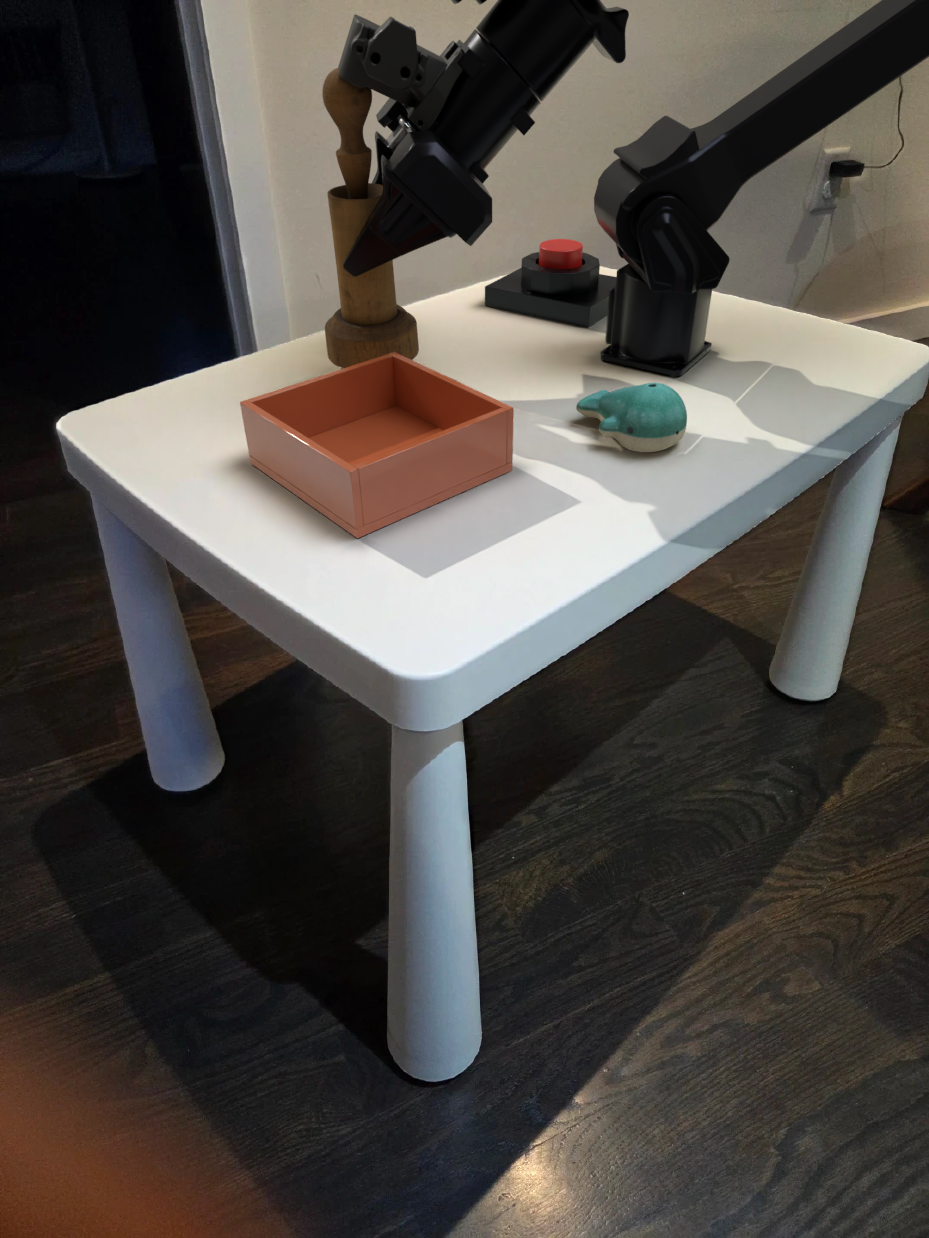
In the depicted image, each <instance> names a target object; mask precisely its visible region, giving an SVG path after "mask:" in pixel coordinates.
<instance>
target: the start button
mask: <svg viewBox="0 0 929 1238" xmlns="http://www.w3.org/2000/svg"><path fill="white" fill-rule="evenodd" d="M583 250H584V245H583V243H582V242H580V241H577V240H574V239H570V238H569V239H568V238H554V239H548V240H544V241H542V242H540V244H539V249H538V252H539V266H541V267H545V268H551V269H572V268H577V267H580V266H582V253H584V251H583Z"/></svg>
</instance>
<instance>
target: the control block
mask: <svg viewBox="0 0 929 1238" xmlns="http://www.w3.org/2000/svg"><path fill="white" fill-rule="evenodd" d="M520 265H521V267H519V268H517V269H516V270H514V271H512V272H510V273H508V274H506V275H504V276H502V277H501V278H499V279H496V280H494V281H493V282H491V283H489V284H487V285H485V286H484V307H487V308H492V309H497V310H503V311H507V312H510V313H516V314H521V315H526V316H530V317H535V318H539V319H544V320H549V321H554V322H559V323H565V324H568V325H572V326H576V327H577V326H578V327H583V328H587V329H589V328H591V327H592V326H594V325H596V324H597V323H598V322H600V321H601V320H603V319H604V318H607V312H608V300H609V291H610V290H611V289H612V288H613V287H615V286H616V276H613V275H607V274H603V273H600V271H601V269H600V268H601V267H600V266H601V263H600V259H599V258H598V257H595V256H594V255H591V254H589V253H587V252H583V253H582V266H580V267H577V268H572V269H551V268H545V267H541V266H539V251H537V252H531V253H529V254H528V255H525V256H523V257H522V258H521V264H520Z"/></svg>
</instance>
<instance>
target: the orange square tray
mask: <svg viewBox="0 0 929 1238" xmlns="http://www.w3.org/2000/svg"><path fill="white" fill-rule="evenodd" d="M239 407H240V411H241V417H242V422H243V427H244V435H245V440H246V445H247V451H248V456H249V463H250V465H252V466H254V467H255V468H256V469H258V470H260V471H261V472H262V473H264V474H265V475H267V477H269V478H271V479H272V480H274V481H275V482H276V483H278V484H279V485H281V486H282V487H283V488H285V489H286V490H288V492H290V493H292V494H294V495H295V496H296V497H298V498H300V499H301V500H302V501H303V502H304V503H306V504H308V505H309V506H310V507H312V508H313V509H314V510H316V511H317V512H319V513H320V514H321V515H323V516H324V517H326V518H328V519H329V520H330V521H331V522H333V523H334V524H336V525H337V526H339V527H340V528H342V529H343V530H344V531H346V532H347V533H349V534H350V535H352V536H353V537H354V538H356V539H359V538H362V537H364V536H366V535H368V534H371V533H373V532H375V531H378V530H380V529H382V528H384V527H387V526H389V525H391V524H393V523H395V522H396V523H397V522H398V521H400V520H402V519H405V518H407V517H410V516H412V515H415V514H416V513H418V512H421V511H423V510H425V509H428V508H430V507H432V506H435V505H436V504H439V503H442V502H443V501H447V500H448V499H450V498H452V497H455V496H458V495H459V494H461V493H463V492H466V491H468V490H471V489H473V488H475V487H478V486H480V485H482V484H484V483H487V482H488V481H491V480H493V479H496V478H498V477H500V476H503V475H504V474H507V473H509V472H511V471H513V464H514V463H513V457H514V414H515V413H514V410H515V409H514V407H513V406H511V405H509V404H506V403H505V402H503V401H501V400H498V399H497V398H494V397H492V396H489V395H487V394H486V393H483V392H481V391H478V390H477V389H476V388H475V389H474V388H472V387H470V386H468V385H466V384H464V383H461V382H460V381H457V380H455V379H453V378H451V377H449V376H447V375H445V374H443V373H440V372H438V371H436V370H434V369H432V368H430V367H428V366H426V365H424V364H422V363H419V362H417V361H415V360H414V359H413V360H411V359H409V358H406V357H404V356H402V355H400V354H398V353H396V352H393V353H390V354H387V355H384V356H381V357H378V358H374V359H371V360H368V361H365V362H362V363H359V364H356V365H353V366H350V367H347V368H341V369H338V370H334V371H331V372H329V373H325V374H322V375H319V376H316V377H313V378H310V379H306V380H304V381H301V382H298V383H297V382H296V383H293V384H291V385H288V386H285V387H281V388H279V389H275V390H272V391H270V392H266V393H263V394H259V395H257V396H253V397H251V398H248V399H244V400H242V401H239Z"/></svg>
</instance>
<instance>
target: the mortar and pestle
mask: <svg viewBox="0 0 929 1238" xmlns="http://www.w3.org/2000/svg"><path fill="white" fill-rule="evenodd" d="M338 74H339V68H338V67H337V68H334V69H332V70H331V71H330V72H328V74H327V75H326V77H325V79H324V82H323V84H322V93H321V94H322V95H321V96H322V102H323V105H324V108H325V109H326V111H327V113H328V115H329V116H330V118H331V120H332V121H333V123H334V124H335V126H336V127H337V129H338V132H339V135H340V146H339V148H338V149H336V151H335V157H336V161H337V164H338V167H339V170H340V172H341V176H342V179H343V181H344V184H343V185H338V186H335V187H332V188H330V189H329V190H328V191H327V192H326V193H327V203H328V209H329V216H330V226H331V233H332V241H333V249H334V259H335V266H336V267H335V268H336V274H337V275H336V276H337V285H338V294H339V302H340V303H339V304H340V308H339V309H337V310H336V311H335V312H334V314H333V315H332V316H331V317H330V318H328V320H327V321H326V322H325V324H324V337H325V344H326V345H325V346H326V353H327V358H328V359H329V361H330V362H331V363H332V364H333V365H335V366H337V367H339V368H341V369H343V368H347V367H350V366H353V365H356V364H359V363H362V362H365V361H368V360H371V359H374V358H378V357H381V356H384V355H387V354H390V353H393V352H396V353H398V354H400V355H402V356H404V357H406V358H409V359H411V360H413V361H414V359H415V358H416V357H418V355H419V352H420V346H419V345H420V344H419V333H418V324H417V320H416V318H415V317H414V315H413V314H411V313H410V312H408V311H407V310H406V309H405V308H404V307H403V306H401V305H399V304H397V295H396V294H397V293H396V283H395V282H396V281H395V272H394V260H391V261H389V262H387V263H385V264H383V265H380V266H378V267H376V268H374V269H372V270H370V271H367V272H365V273H363V274H361V275H359V276H356V277H354V276H352V275H351V274H349V273H348V272H347V271H346V270H345V269H344V268H343V262H344V260H345V259H346V257H347V255H348V253H349V251H350V249H351V248H352V246H353V244H354V242H355V241H356V239H357V237H358V235H359V234H360V232H361V230H362V228H363V227H364V225H365V223H366V221H367V220H368V218H369V216H370V215H371V213H372V211H373V209H374V208H375V206H376V204H377V202H378V201H379V199H380V197H381V195H382V193H383V185H380V184H374V183H372V182H370V176H371V167H372V160H373V159H372V157H373V156H372V155H373V151H372V149H371V148H370V147H369V146H368V145H367V144H366V141H365V138H364V126H365V123H366V121H367V119H368V115H369V112H370V110H371V106H372V102H373V90H372V89H370V88H368V87H363V88H359V87H357V86H355V85H352V84H350V83H349V82H347V81H345V80H343V79H342V78H340V77H339V75H338Z"/></svg>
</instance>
